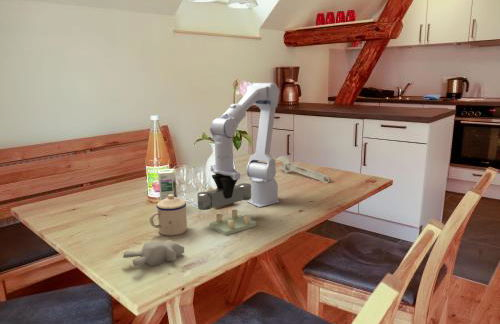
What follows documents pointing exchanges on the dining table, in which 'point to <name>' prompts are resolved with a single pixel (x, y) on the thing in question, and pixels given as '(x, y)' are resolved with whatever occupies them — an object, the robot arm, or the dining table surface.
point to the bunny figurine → (156, 253)
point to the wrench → (301, 170)
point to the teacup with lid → (171, 216)
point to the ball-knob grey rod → (223, 196)
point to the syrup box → (167, 183)
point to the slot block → (223, 206)
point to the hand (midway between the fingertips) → (225, 196)
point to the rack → (232, 223)
